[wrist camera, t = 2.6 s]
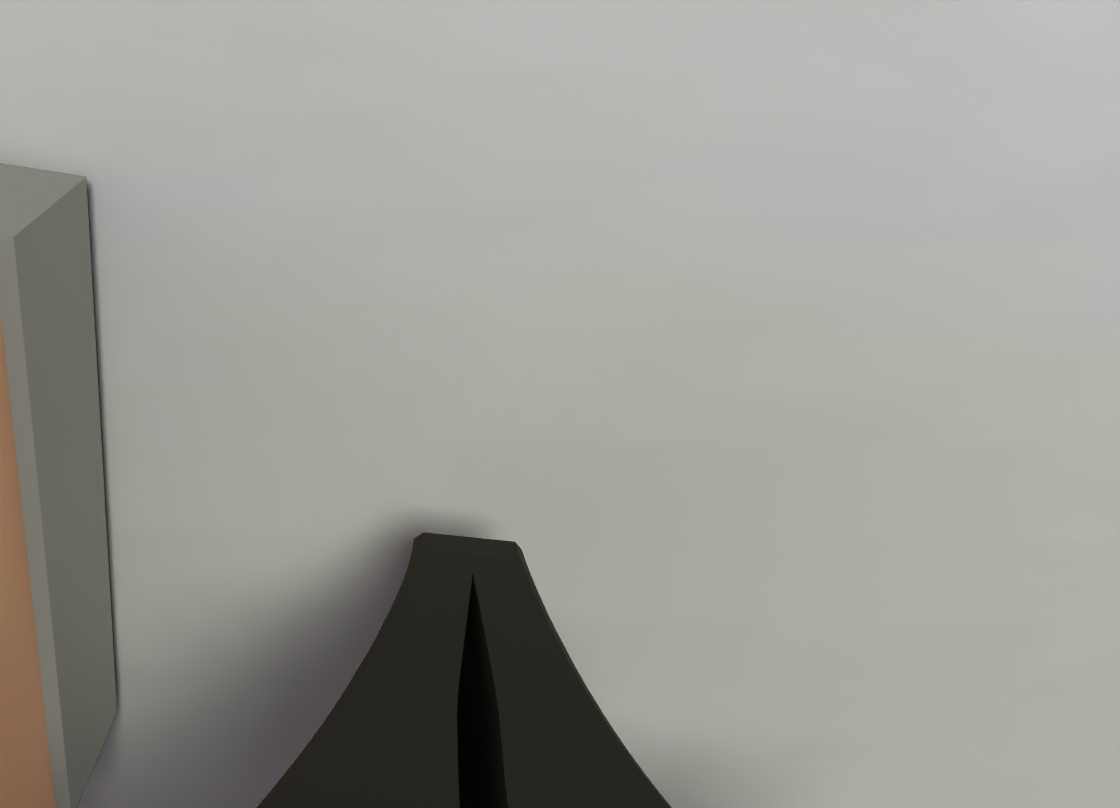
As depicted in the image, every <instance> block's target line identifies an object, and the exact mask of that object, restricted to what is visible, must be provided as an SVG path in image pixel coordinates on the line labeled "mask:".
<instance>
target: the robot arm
mask: <svg viewBox="0 0 1120 808" xmlns="http://www.w3.org/2000/svg"><path fill="white" fill-rule="evenodd" d="M257 808H671V807H670V805H669V804H668V803H667V801H666V800H665V799H664V798H663V796H662V795H661V794H660V793H659V791H658V790H657V789H656V788H655V786H654V785H653V784H652V782H651V781H650V780H649V779H648V777H647V776H646V775H645V773H644V772H643V771H642V769H641V768H640V767H639V765H638V764H637V762H636V761H635V760H634V758H633V757H632V756H631V754H630V753H629V752H628V750H627V749H626V747H625V746H624V744H623V743H622V742H621V740H620V739H619V737H618V736H617V734H616V733H615V731H614V730H613V728H612V727H611V725H610V724H609V722H608V721H607V719H606V718H605V716H604V714H603V713H602V711H601V709H600V708H599V706H598V705H597V703H596V701H595V700H594V698H593V696H592V695H591V693H590V692H589V690H588V688H587V687H586V685H585V683H584V681H583V680H582V678H581V676H580V674H579V673H578V671H577V669H576V667H575V666H574V664H573V662H572V660H571V658H570V656H569V654H568V652H567V650H566V649H565V647H564V645H563V643H562V641H561V639H560V637H559V635H558V633H557V632H556V630H555V628H554V625H553V623H552V621H551V619H550V617H549V615H548V613H547V611H546V609H545V606H544V604H543V602H542V600H541V598H540V596H539V593H538V591H537V589H536V586H535V584H534V582H533V579H532V577H531V574H530V572H529V569H528V566H527V564H526V561H525V558H524V555H523V552H522V550H521V548H520V547H519V546H518V545H517V544H516V542H511V541H501V540H491V539H481V538H471V537H462V536H452V535H442V534H432V533H422V534H421V535H419V536H418V537H416V538H414V543H413V550H412V555H411V558H410V562H409V565H408V569H407V571H406V574H405V577H404V580H403V582H402V585H401V587H400V589H399V592H398V594H397V596H396V599H395V601H394V603H393V605H392V607H391V609H390V611H389V613H388V615H387V617H386V619H385V621H384V623H383V625H382V627H381V629H380V631H379V633H378V635H377V637H376V639H375V641H374V643H373V645H372V647H371V648H370V650H369V652H368V653H367V655H366V657H365V658H364V660H363V662H362V663H361V665H360V667H359V668H358V670H357V672H356V673H355V675H354V677H353V678H352V680H351V682H350V683H349V685H348V687H347V688H346V690H345V691H344V693H343V695H342V696H341V698H340V699H339V701H338V702H337V704H336V705H335V707H334V708H333V710H332V711H331V713H330V714H329V715H328V717H327V718H326V720H325V721H324V723H323V724H322V726H321V727H320V728H319V730H318V731H317V732H316V734H315V735H314V736H313V738H312V739H311V741H310V742H309V743H308V745H307V746H306V747H305V749H304V750H303V751H302V753H301V754H300V755H299V757H298V758H297V759H296V760H295V762H294V763H293V764H292V765H291V767H290V768H289V769H288V770H287V772H286V773H285V774H284V775H283V777H282V778H281V779H280V780H279V782H278V783H277V784H276V785H275V787H274V788H273V789H272V790H271V791H270V793H269V794H268V795H267V796H266V797H265V799H264V800H263V801H262V802H261V803H260V804H259V806H258V807H257Z"/></svg>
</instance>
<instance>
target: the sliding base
mask: <svg viewBox="0 0 1120 808" xmlns="http://www.w3.org/2000/svg"><path fill="white" fill-rule="evenodd" d="M116 713H117V703H116V685H115V668H114V651H113V633H112V616H111V599H110V581H109V564H108V546H107V529H106V512H105V494H104V477H103V460H102V442H101V425H100V407H99V390H98V373H97V355H96V338H95V321H94V303H93V286H92V268H91V251H90V234H89V216H88V199H87V182H86V177H84V176H78V175H72V174H65V173H59V172H52V171H46V170H39V169H33V168H27V167H20V166H14V165H7V164H1V163H0V808H77V806H78V804H79V801H80V799H81V797H82V794H83V792H84V789H85V787H86V785H87V782H88V780H89V777H90V775H91V773H92V770H93V768H94V765H95V763H96V761H97V758H98V756H99V753H100V751H101V749H102V746H103V744H104V741H105V739H106V737H107V734H108V732H109V729H110V727H111V725H112V722H113V720H114V717H115V715H116Z"/></svg>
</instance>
